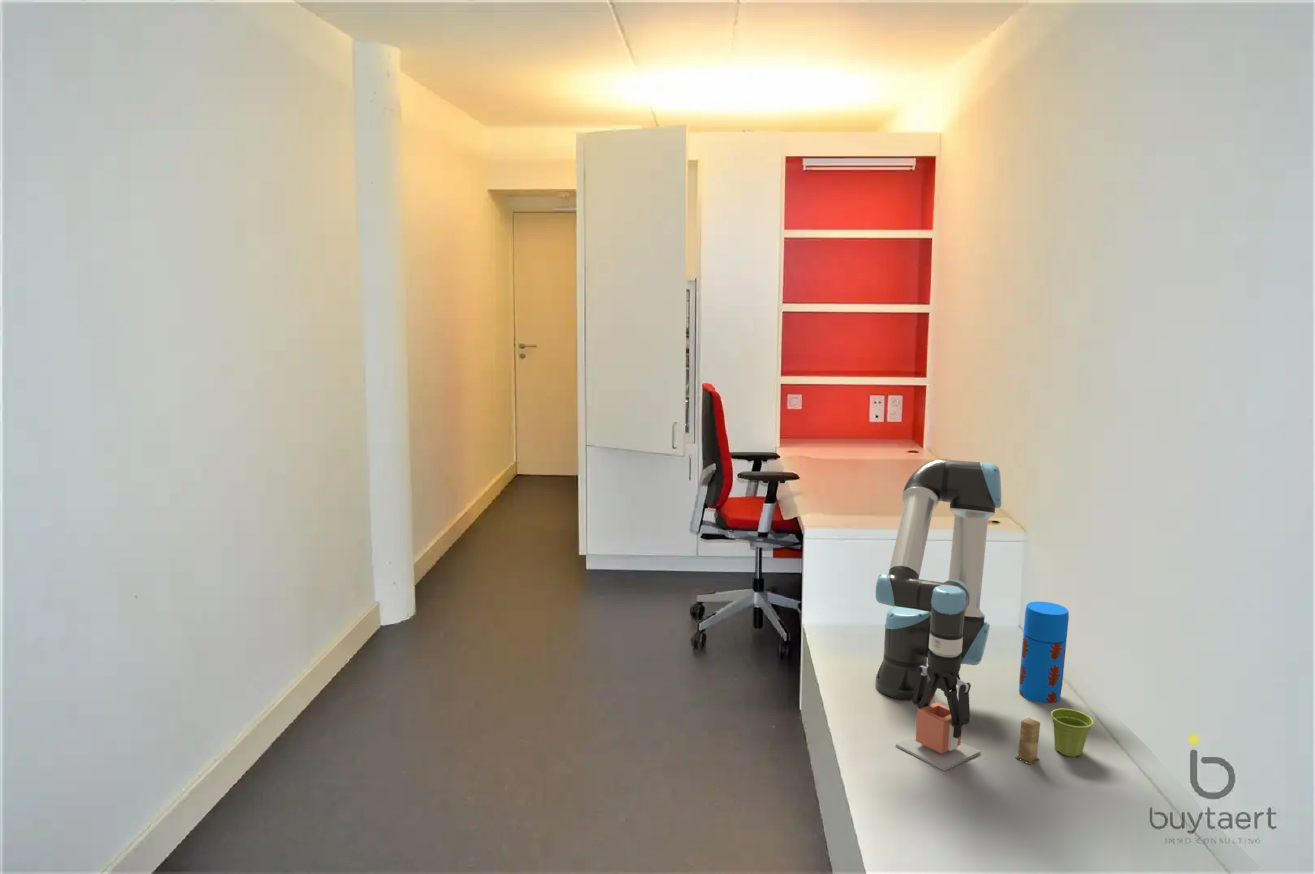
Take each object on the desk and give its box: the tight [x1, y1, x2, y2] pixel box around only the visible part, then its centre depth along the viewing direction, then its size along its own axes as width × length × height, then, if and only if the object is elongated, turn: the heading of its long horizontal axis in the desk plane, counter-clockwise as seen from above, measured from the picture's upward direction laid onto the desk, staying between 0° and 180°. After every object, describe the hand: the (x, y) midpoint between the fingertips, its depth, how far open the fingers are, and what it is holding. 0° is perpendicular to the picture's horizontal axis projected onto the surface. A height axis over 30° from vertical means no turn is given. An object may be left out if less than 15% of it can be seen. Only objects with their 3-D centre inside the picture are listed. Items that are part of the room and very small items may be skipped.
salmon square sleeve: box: [915, 701, 963, 754], centre depth 221 cm, size 7×7×8 cm
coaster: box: [895, 734, 981, 772], centre depth 222 cm, size 14×14×1 cm
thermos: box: [1018, 600, 1070, 704], centre depth 251 cm, size 11×11×25 cm
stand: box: [1015, 717, 1041, 765], centre depth 218 cm, size 4×4×10 cm
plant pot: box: [1050, 708, 1094, 758], centre depth 222 cm, size 9×9×9 cm
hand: (938, 741), depth 222 cm, fingers closed on salmon square sleeve, 7 cm apart
